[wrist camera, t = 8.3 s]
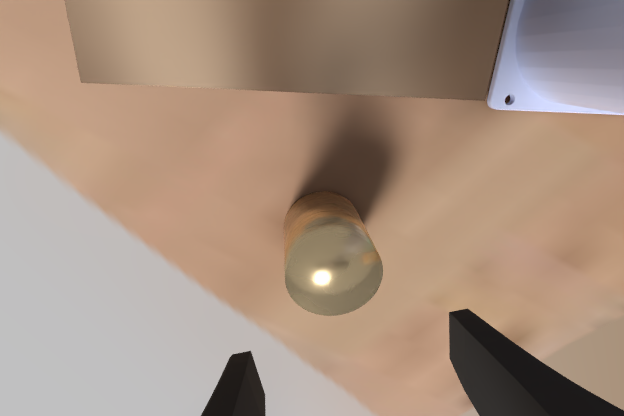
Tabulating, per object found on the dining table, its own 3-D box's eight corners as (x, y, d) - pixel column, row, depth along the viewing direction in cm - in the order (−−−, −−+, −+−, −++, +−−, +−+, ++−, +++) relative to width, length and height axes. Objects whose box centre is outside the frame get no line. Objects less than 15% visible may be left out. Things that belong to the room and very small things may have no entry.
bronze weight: (363, 191, 19) (389, 232, 15) (355, 259, 21) (376, 314, 16) (284, 190, 19) (285, 232, 14) (283, 259, 21) (284, 316, 16)
